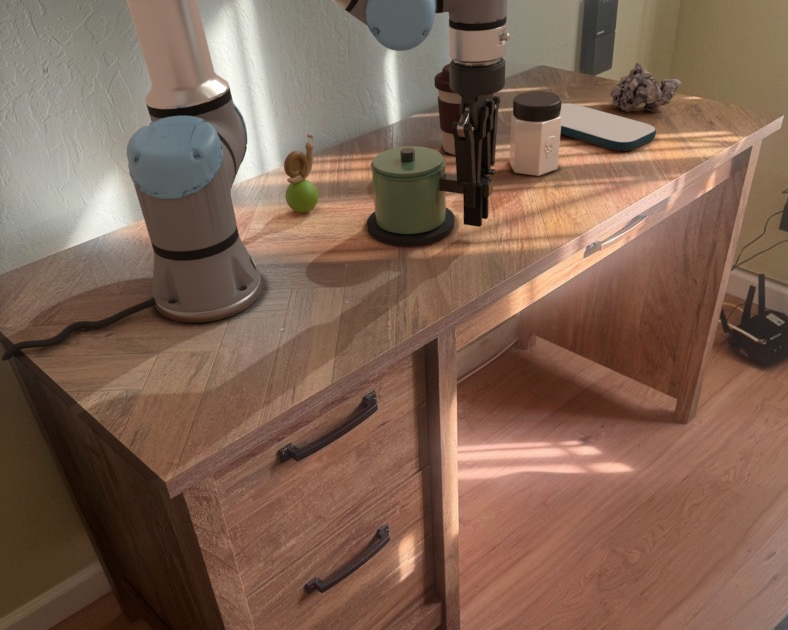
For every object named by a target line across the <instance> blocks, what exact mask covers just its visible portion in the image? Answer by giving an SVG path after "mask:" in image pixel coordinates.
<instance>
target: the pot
mask: <svg viewBox="0 0 788 630" xmlns="http://www.w3.org/2000/svg"><path fill="white" fill-rule="evenodd" d="M369 166H370V167H369V168H370V172H371V179H372V190H373V204H374V211H375V218H376V223H377V225H378V226H379V227H380V228H382V229H384V230H386V231H389V232H392V233H398V234H417V233H423V232H427V231H430V230H433V229H435V228H437V227H439V226H440V225H441V224H442V223H443V222H444V221H445V219H446V208H447V204H446V203H447V201H446V200H447V199H446V197H447V196H446V193H453V194H460V195H463V186H458V185H457V175H456V174H451V173H446V167H447V161H446V158H445V157H444V156H443V154H441V152H440V151H438V150H436V149H433V148H430V147H425V146H417V145H415V146H414V145H408V146H406V145H405V146H399V147H393V148H389V149H387V150H384V151H381V152H380V153H378V154H377V155H376V156H375V157H374V158H373V159H372V161H371V162H370V164H369ZM480 184H483V190H482V197H489V198H490V197H491V195H492V194H493V192H494V179H491V178H489V179H484V178H480Z"/></svg>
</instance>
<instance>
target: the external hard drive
mask: <svg viewBox="0 0 788 630" xmlns="http://www.w3.org/2000/svg"><path fill="white" fill-rule="evenodd" d="M560 115H561V117H562V120H561V133H560V135H563V136H566V137H570V138H573V139H576V140H580V141H583V142H586V143H588V144H589V143H590V144H592V145H596V146H599V147H602V148H606V149H608V150H614V151H621V152H622V151H623V152H625V151H631V150H635V149H637V148H639V147H641V146H643V145H646V144H647V143H650V142H652V141H653V140H654V139H655V138H656V135H657V128H656V127H655V126H654V125H652V124H649V123H648V122H643V121H640V120H635V119H632V118H628V117H626V116H625V117H624V116H621V115H617V114H613V113H610V112H606V111H602V110H599V109H596V108H591V107H588V106H583V105H581V104H580V105H579V104H576V103H569V102H563V103H562V102H561V111H560Z"/></svg>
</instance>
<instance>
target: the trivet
mask: <svg viewBox="0 0 788 630" xmlns="http://www.w3.org/2000/svg"><path fill="white" fill-rule="evenodd" d="M455 219H456V217H455V215H454V212H453V211H452V210H451V209H450V208H448V207H446V219H445V221H444V222H443V223H442V224H441V225H440V226H439V227H437V228H435V229H433V230H430V231H427V232H423V233H417V234H398V233H392V232H389V231H386V230H384V229H382V228H380V227H379V226H378V225H377V223H376V218H375V210H374V211H373V212H372V213H371V214H370V215H369V216H368V218H367V221H366V225H367V226H366V227H367V232H368V234H369V235H370V237H372V239H374V240H376V241H378V242H381V243H383V244H387V245H389V246H390V245H391V246H397V247H398V246H399V247H416V246H417V247H418V246H424V245H429V244H432V243H435V242H438V241H440V240H443V239H444V238H447V236H449V235H450V234H451V233H452V232H453V231H454V229H455V225H456V224H455V223H456V220H455Z"/></svg>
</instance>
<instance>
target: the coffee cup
mask: <svg viewBox="0 0 788 630" xmlns="http://www.w3.org/2000/svg"><path fill="white" fill-rule="evenodd" d="M449 64H450V63H447V64H445V65H444V66H443V67H442V69H441V71H440V72H438V73H437V74H436V75H435V76H434V79H433V80H434V81H433V82H434V87H435V89H437V91H438V95H437V105H438V117H439V127H440V130H441V138H442V139H441V140H442V149H443V151H444V152H446V153H448V154H449V155H452V156H453V155H454V156H455V143H454V136H453V132H452V124H453V122H458V123H459V121H460V118H459V107H460V105H461V96H460V95H459V94H457V93H455V92H453V91H452V90H451V88H450V75H449Z"/></svg>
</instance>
